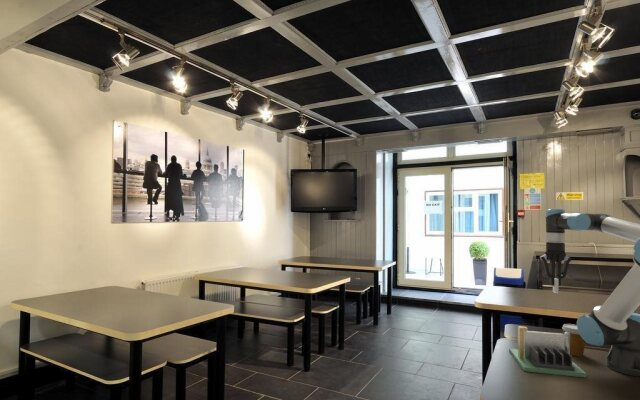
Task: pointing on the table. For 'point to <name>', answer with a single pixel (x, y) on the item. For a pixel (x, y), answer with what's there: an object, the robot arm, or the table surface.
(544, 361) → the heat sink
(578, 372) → the motherboard
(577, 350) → the disposable coffee cup
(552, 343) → the grey flat slab
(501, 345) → the table surface
